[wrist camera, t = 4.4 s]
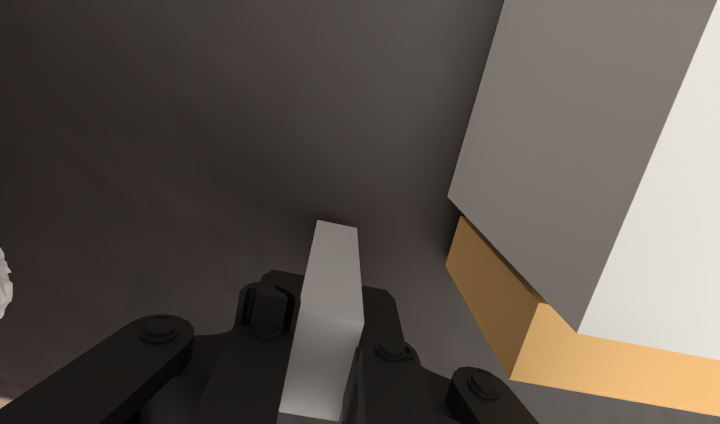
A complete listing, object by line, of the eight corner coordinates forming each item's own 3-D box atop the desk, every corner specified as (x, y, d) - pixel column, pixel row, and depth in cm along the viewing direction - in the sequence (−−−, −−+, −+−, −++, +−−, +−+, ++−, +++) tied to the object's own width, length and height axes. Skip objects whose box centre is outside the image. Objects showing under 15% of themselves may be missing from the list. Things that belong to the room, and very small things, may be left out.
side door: (444, 266, 17) (508, 381, 10) (460, 214, 16) (539, 300, 10) (621, 301, 18) (787, 429, 11) (643, 253, 17) (833, 358, 11)
